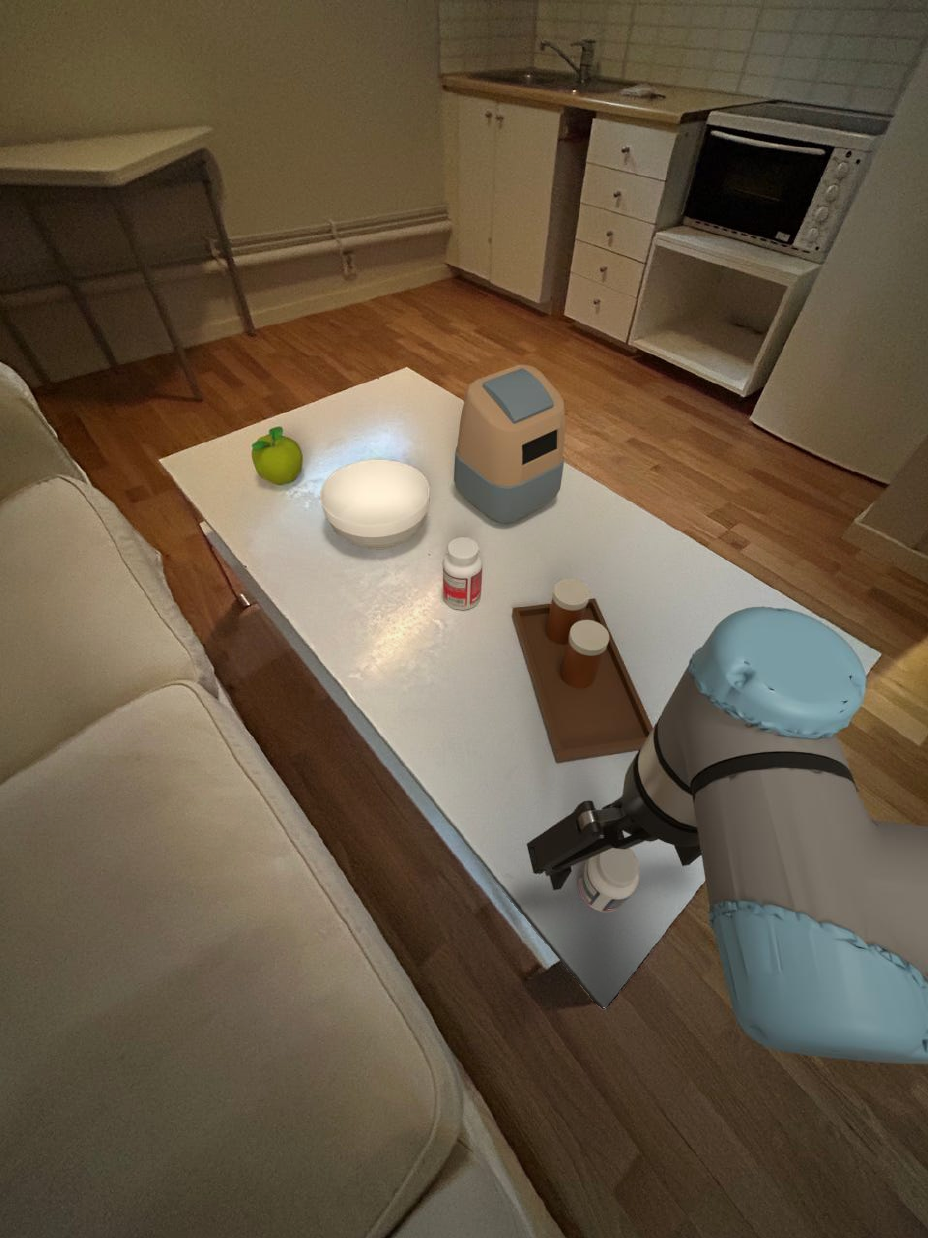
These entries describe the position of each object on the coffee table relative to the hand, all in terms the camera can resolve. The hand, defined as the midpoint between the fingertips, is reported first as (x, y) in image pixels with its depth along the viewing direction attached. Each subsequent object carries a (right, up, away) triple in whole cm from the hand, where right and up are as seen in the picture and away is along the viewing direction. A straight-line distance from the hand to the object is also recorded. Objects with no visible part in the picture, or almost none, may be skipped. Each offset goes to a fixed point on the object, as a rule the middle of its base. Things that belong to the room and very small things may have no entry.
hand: (617, 863), depth 55 cm
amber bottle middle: (+1, +17, +24) cm, 29 cm away
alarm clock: (-7, +49, +52) cm, 71 cm away
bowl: (-31, +41, +45) cm, 68 cm away
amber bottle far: (0, +23, +29) cm, 37 cm away
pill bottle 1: (-16, +28, +34) cm, 47 cm away
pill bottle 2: (0, -5, +6) cm, 8 cm away
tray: (+1, +17, +24) cm, 29 cm away
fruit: (-52, +53, +54) cm, 91 cm away
